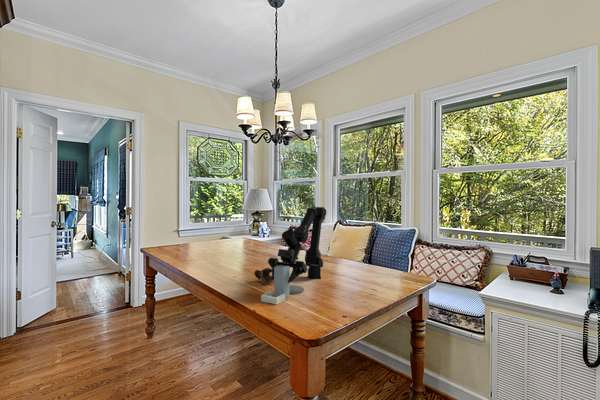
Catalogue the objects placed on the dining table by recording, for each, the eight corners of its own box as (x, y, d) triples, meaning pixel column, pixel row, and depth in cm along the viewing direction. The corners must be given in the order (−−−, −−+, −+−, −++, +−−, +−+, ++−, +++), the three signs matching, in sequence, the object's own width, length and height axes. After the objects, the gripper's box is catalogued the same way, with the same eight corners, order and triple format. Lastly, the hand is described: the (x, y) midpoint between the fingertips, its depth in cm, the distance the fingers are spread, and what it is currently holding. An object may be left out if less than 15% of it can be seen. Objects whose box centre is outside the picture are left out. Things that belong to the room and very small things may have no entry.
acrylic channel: (270, 296, 128) (270, 290, 128) (285, 299, 124) (285, 293, 124) (261, 301, 122) (261, 295, 122) (276, 304, 118) (276, 298, 118)
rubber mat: (302, 286, 144) (302, 284, 144) (305, 293, 132) (305, 292, 132) (278, 286, 142) (278, 285, 142) (279, 294, 130) (279, 293, 130)
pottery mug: (277, 280, 155) (279, 269, 151) (270, 293, 147) (272, 281, 143) (256, 273, 157) (257, 262, 153) (249, 285, 149) (250, 274, 145)
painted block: (280, 293, 133) (280, 265, 133) (289, 294, 130) (289, 266, 130) (274, 296, 128) (274, 267, 128) (283, 298, 126) (283, 268, 126)
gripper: (269, 240, 137) (255, 268, 128) (304, 243, 128) (292, 273, 119) (278, 254, 144) (265, 281, 135) (312, 258, 135) (301, 287, 126)
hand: (280, 281), depth 128 cm, fingers open, 8 cm apart
